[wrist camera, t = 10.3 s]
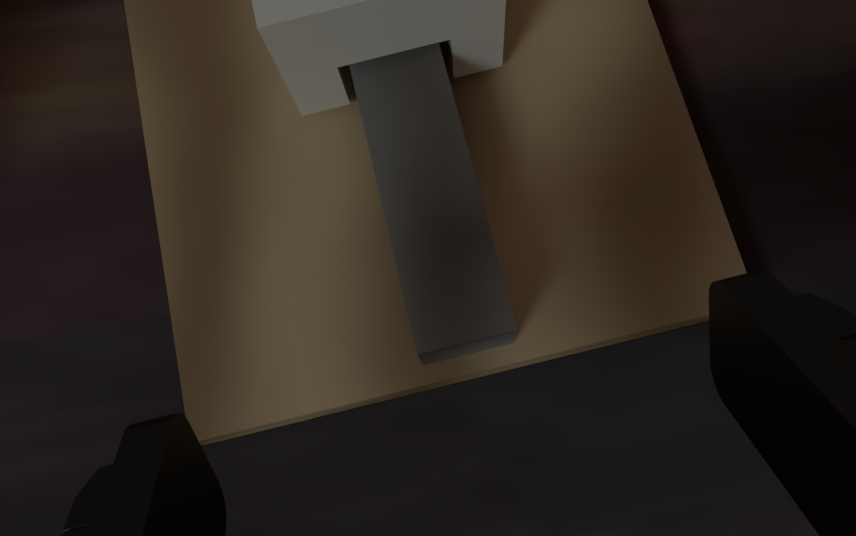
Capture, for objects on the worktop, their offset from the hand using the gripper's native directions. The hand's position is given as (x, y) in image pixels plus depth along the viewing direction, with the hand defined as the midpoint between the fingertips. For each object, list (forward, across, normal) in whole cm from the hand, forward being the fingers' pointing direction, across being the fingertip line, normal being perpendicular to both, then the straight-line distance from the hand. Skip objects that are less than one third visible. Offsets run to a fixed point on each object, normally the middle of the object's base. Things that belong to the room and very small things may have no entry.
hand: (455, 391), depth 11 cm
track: (+13, -1, 0) cm, 13 cm away
